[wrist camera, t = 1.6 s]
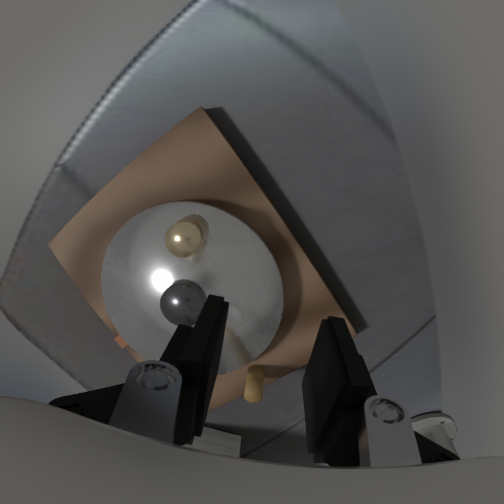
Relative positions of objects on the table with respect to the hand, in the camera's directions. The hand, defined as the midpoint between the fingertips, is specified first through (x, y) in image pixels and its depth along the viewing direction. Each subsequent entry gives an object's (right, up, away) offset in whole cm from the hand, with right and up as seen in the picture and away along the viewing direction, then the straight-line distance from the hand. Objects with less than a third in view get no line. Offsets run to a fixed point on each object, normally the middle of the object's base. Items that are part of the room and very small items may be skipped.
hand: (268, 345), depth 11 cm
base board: (-6, 0, +18) cm, 19 cm away
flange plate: (-6, -1, +17) cm, 18 cm away
